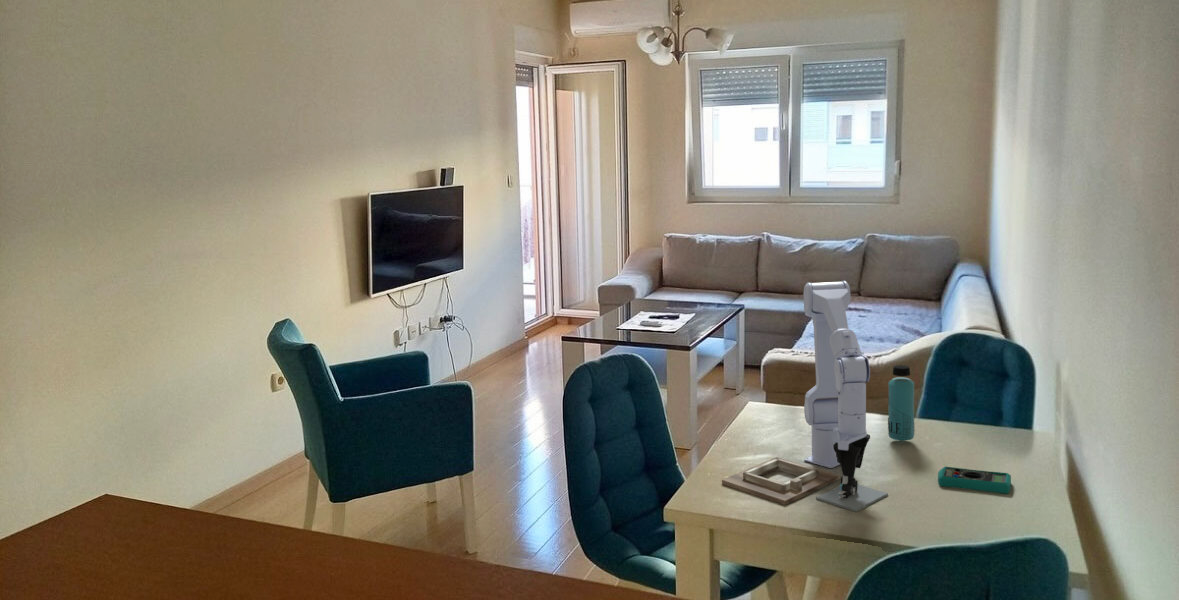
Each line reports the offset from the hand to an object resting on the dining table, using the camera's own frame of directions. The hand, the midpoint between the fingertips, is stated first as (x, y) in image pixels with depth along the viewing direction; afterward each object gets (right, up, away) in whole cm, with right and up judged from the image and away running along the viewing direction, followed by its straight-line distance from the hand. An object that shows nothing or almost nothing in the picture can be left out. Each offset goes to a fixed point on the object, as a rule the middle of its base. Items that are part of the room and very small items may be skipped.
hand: (852, 471), depth 198 cm
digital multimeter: (+29, -4, +5) cm, 29 cm away
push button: (-1, -6, +1) cm, 6 cm away
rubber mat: (0, -6, +1) cm, 6 cm away
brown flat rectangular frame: (-13, -5, +12) cm, 18 cm away
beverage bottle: (+22, +1, +33) cm, 40 cm away
